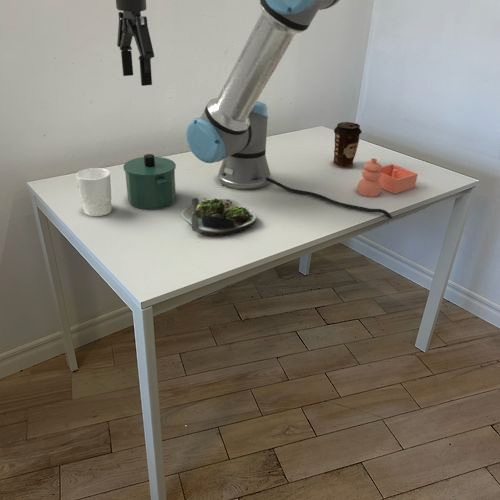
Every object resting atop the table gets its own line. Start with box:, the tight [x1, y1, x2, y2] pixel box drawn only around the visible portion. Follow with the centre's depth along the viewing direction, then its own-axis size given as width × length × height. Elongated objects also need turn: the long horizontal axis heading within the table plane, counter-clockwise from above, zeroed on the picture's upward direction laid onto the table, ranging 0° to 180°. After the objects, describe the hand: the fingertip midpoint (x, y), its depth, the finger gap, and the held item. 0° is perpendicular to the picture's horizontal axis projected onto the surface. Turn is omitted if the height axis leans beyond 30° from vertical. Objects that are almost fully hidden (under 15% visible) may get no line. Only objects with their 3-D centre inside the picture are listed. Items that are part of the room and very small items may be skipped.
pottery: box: [357, 158, 419, 198], centre depth 143 cm, size 18×10×10 cm, turn 126°
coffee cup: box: [332, 121, 362, 169], centre depth 158 cm, size 9×8×13 cm
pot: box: [124, 170, 177, 210], centre depth 132 cm, size 12×18×9 cm
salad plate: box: [181, 197, 257, 238], centre depth 124 cm, size 19×18×5 cm
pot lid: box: [123, 153, 177, 177], centre depth 129 cm, size 13×13×4 cm
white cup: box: [75, 167, 113, 217], centre depth 124 cm, size 8×8×10 cm
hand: (137, 80), depth 137 cm, fingers open, 13 cm apart
